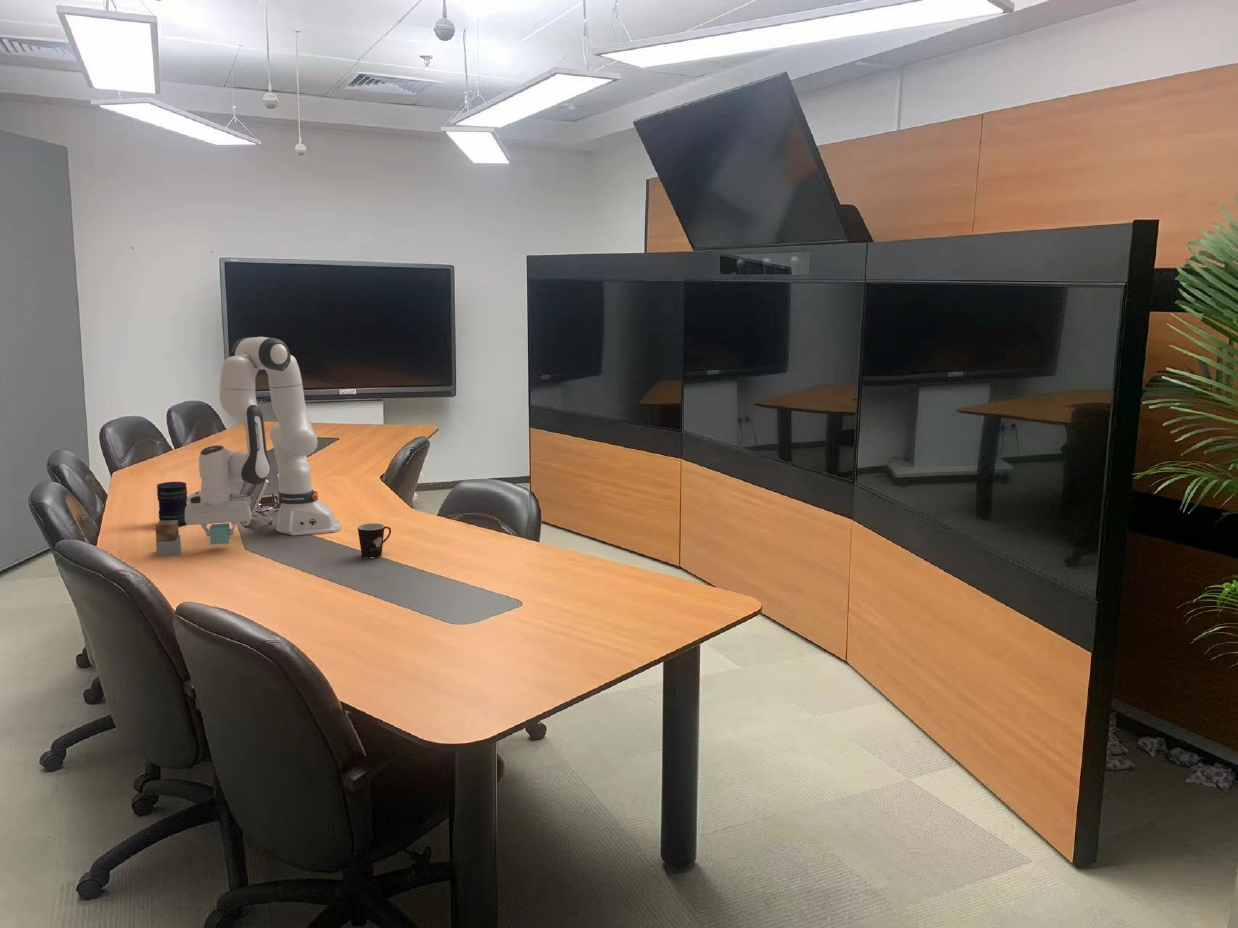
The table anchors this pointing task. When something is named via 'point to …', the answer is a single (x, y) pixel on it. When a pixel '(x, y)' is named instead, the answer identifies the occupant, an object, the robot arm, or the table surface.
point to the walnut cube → (167, 530)
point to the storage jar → (172, 501)
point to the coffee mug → (372, 539)
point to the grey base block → (168, 547)
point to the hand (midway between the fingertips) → (220, 535)
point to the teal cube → (219, 533)
